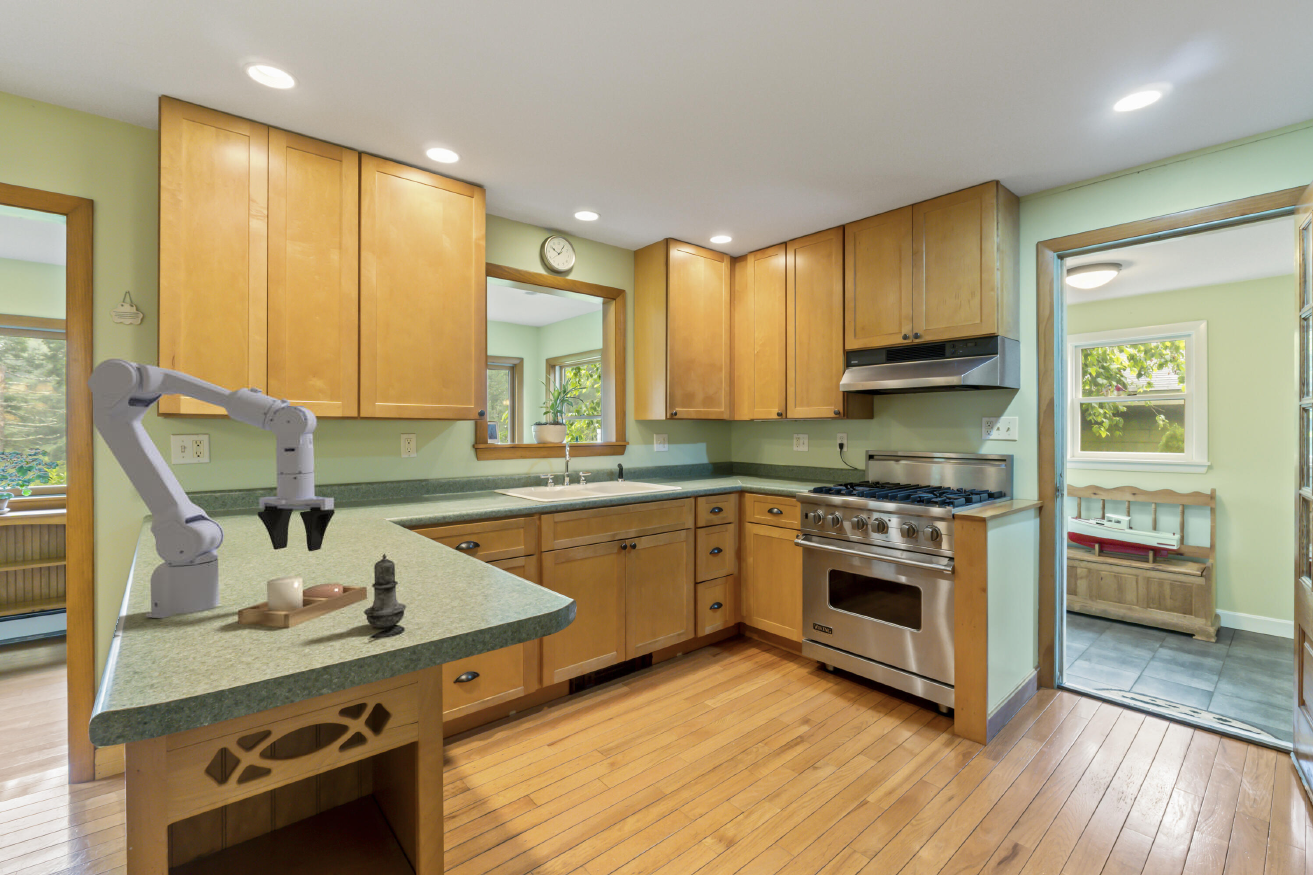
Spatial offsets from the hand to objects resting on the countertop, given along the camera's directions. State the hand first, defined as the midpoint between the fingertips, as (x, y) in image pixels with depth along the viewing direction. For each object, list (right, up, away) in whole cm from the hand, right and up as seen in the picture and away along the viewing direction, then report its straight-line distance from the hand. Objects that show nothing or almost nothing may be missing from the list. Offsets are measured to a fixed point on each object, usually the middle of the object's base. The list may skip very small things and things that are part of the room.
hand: (297, 549), depth 105 cm
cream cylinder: (+4, -9, -10) cm, 14 cm away
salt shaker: (+23, -10, -15) cm, 29 cm away
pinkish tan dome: (+7, -9, -3) cm, 11 cm away
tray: (+6, -10, -7) cm, 13 cm away
